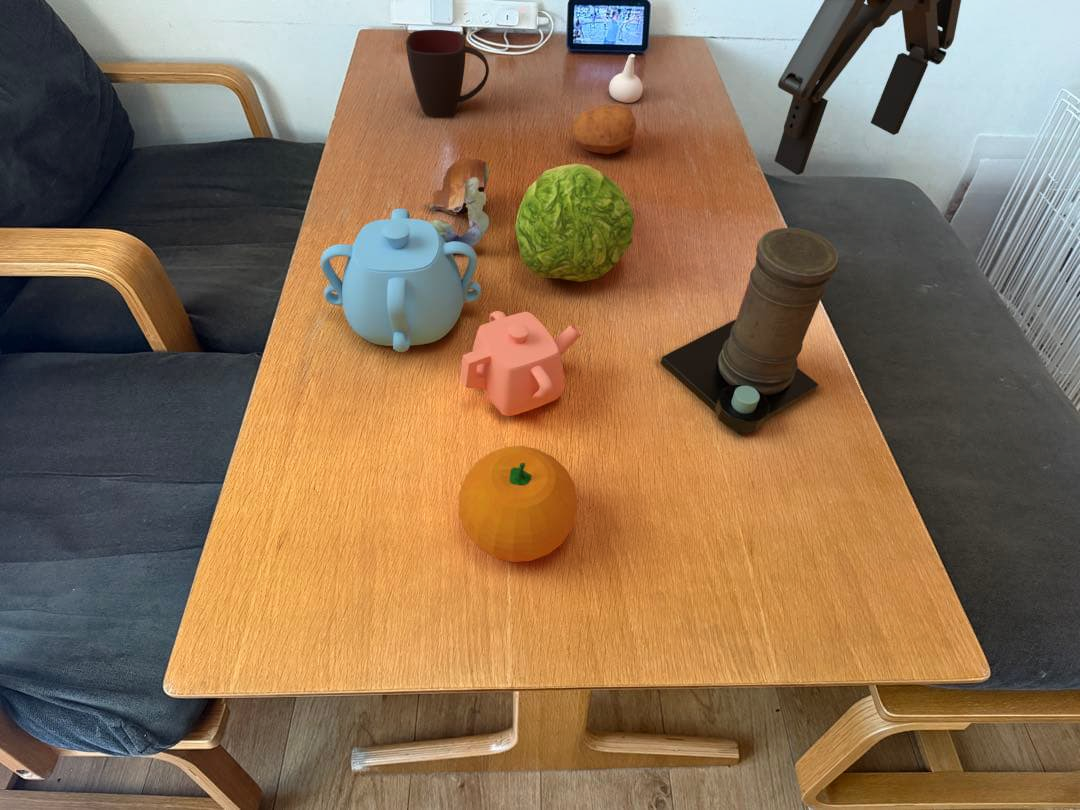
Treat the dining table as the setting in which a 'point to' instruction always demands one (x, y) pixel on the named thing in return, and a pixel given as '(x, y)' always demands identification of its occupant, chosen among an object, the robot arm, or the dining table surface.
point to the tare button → (745, 399)
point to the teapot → (517, 362)
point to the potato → (604, 128)
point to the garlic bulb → (626, 84)
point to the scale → (706, 382)
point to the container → (777, 309)
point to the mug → (440, 70)
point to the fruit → (518, 503)
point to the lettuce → (573, 224)
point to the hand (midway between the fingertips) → (838, 147)
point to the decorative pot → (401, 282)
